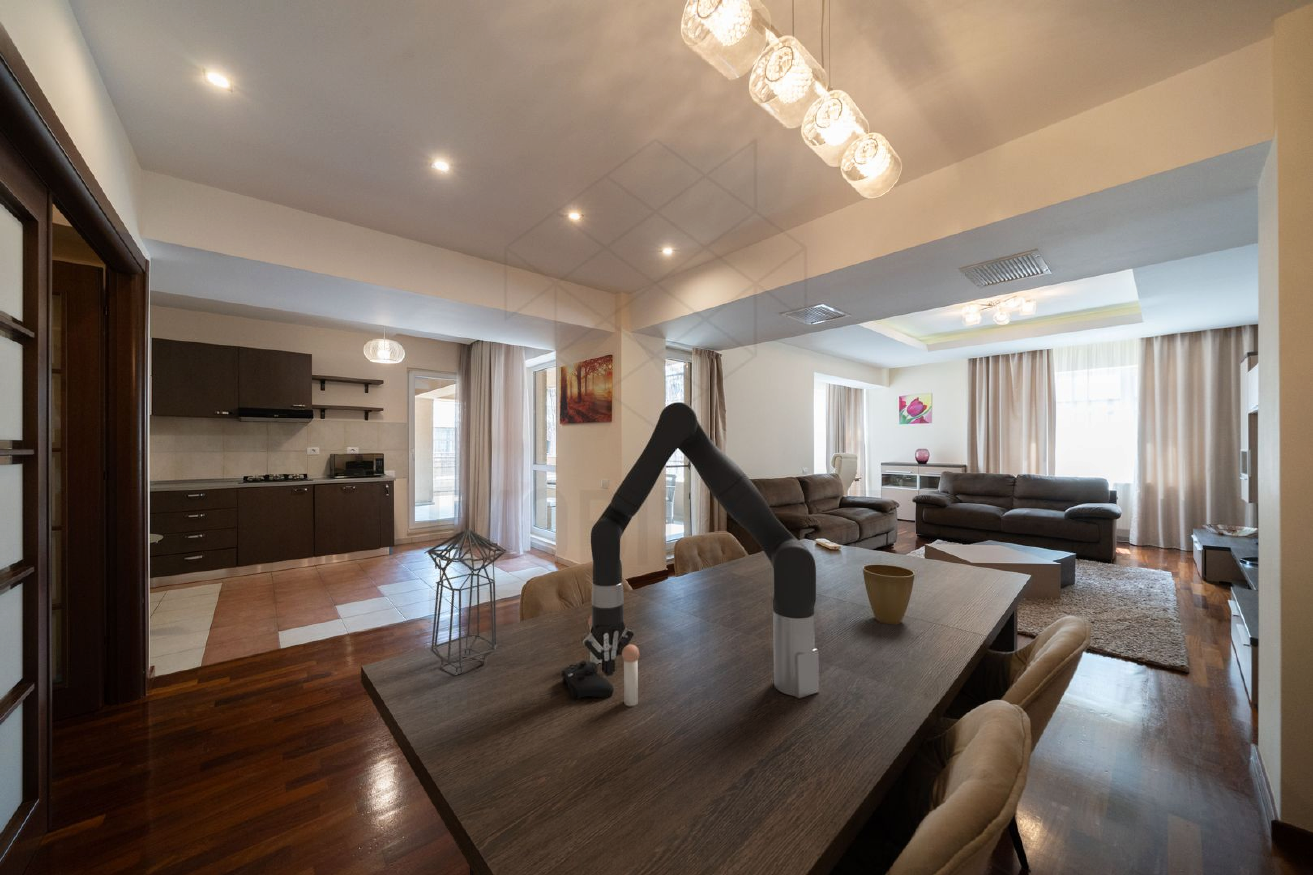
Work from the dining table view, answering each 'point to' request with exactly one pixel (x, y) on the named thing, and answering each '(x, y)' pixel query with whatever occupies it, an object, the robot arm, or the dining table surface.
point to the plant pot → (888, 591)
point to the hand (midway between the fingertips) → (608, 674)
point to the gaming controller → (586, 681)
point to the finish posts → (630, 670)
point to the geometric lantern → (481, 542)
